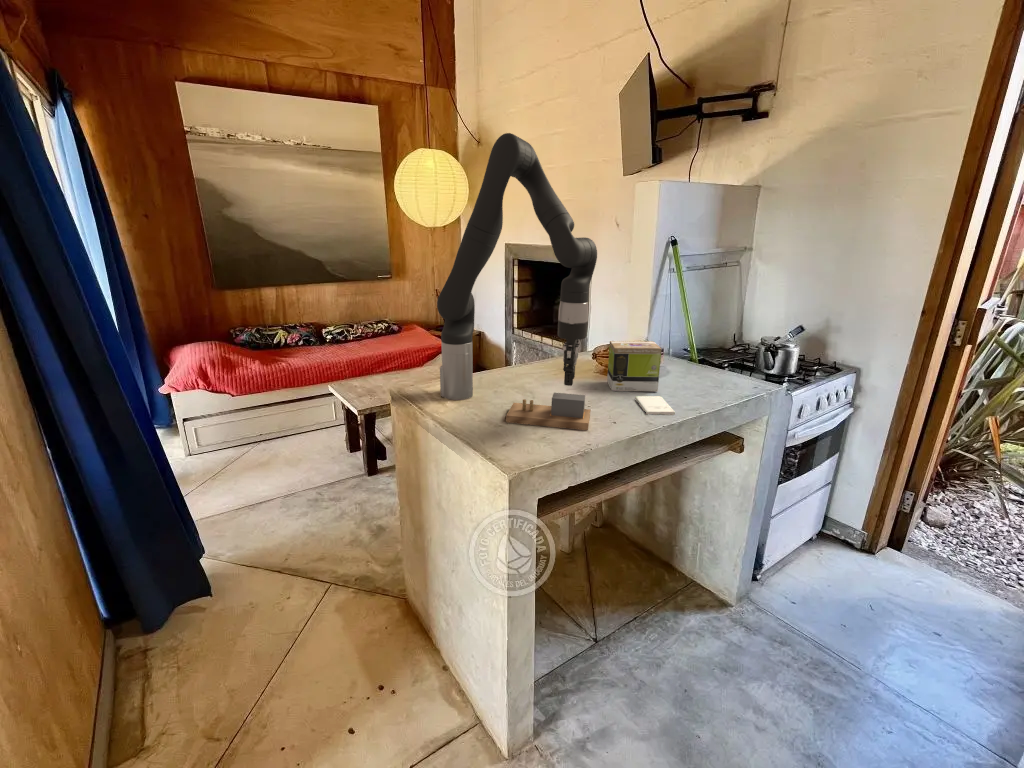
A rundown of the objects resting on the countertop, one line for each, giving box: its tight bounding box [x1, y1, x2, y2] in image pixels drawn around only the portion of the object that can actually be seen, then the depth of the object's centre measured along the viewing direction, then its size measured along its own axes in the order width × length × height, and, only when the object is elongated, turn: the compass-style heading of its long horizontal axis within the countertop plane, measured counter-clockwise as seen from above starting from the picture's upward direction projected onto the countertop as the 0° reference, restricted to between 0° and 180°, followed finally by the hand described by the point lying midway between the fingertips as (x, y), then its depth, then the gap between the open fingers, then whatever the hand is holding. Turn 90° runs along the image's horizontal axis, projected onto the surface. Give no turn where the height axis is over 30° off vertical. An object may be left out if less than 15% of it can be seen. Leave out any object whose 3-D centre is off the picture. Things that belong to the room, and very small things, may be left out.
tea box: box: [606, 340, 662, 393], centre depth 161 cm, size 15×10×15 cm
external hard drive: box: [634, 395, 676, 416], centre depth 146 cm, size 2×8×12 cm
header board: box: [505, 399, 591, 431], centre depth 135 cm, size 22×10×5 cm, turn 79°
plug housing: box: [550, 392, 586, 418], centre depth 133 cm, size 9×5×5 cm, turn 79°
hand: (569, 381), depth 131 cm, fingers open, 5 cm apart
